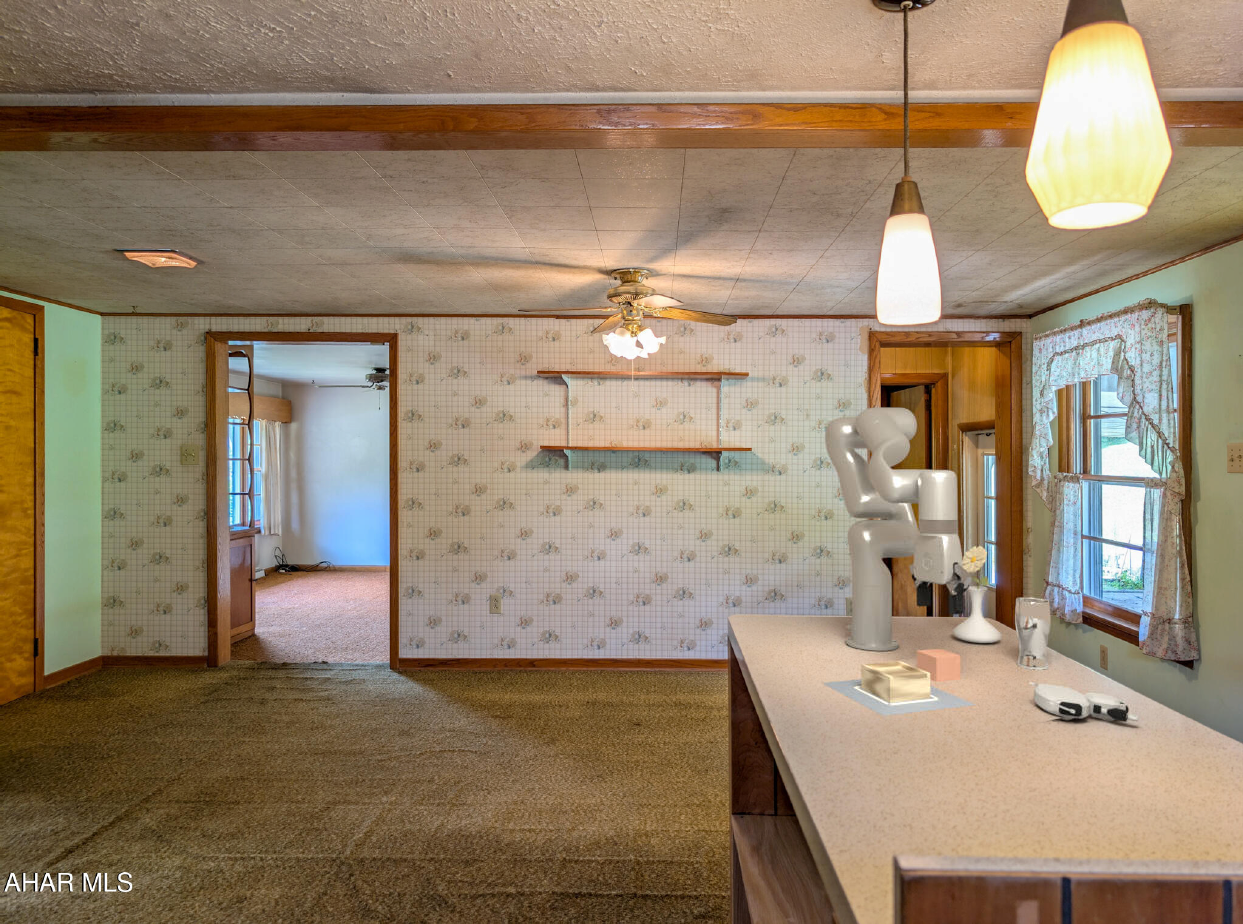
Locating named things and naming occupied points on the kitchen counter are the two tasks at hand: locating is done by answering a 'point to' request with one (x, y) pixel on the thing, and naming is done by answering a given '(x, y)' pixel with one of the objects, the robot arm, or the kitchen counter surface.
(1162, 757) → the kitchen counter surface
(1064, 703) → the robot toy
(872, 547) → the robot arm
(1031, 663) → the beer glass
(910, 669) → the maple base
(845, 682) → the board
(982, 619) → the flower in vase
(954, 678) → the terracotta cube
